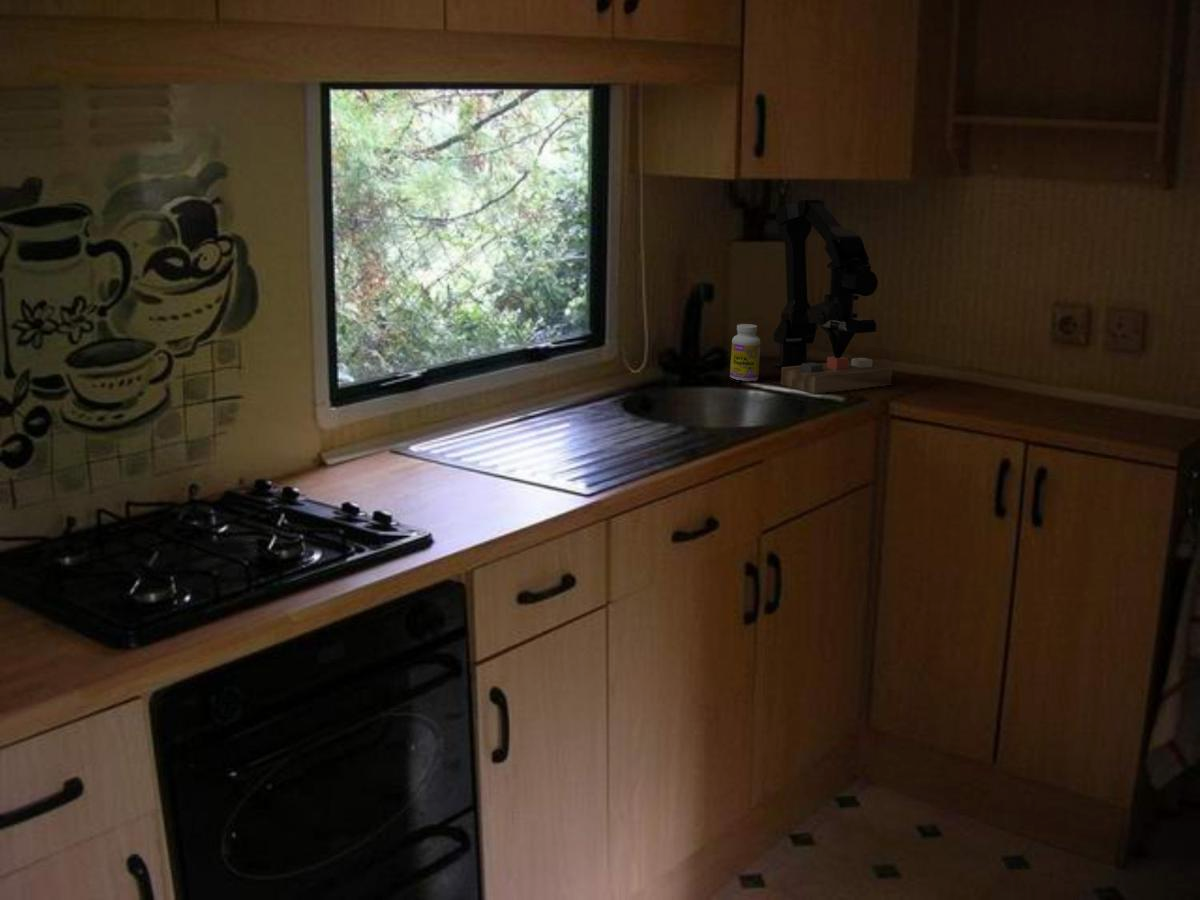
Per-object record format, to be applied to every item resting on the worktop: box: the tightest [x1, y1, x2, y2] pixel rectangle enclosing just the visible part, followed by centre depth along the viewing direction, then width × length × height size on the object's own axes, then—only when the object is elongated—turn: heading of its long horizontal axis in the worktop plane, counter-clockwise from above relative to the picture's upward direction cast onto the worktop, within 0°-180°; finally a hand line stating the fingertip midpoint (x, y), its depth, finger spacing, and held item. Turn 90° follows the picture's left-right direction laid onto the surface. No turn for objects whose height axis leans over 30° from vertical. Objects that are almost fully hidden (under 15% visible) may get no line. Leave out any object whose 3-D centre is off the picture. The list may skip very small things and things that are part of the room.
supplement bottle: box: [729, 323, 762, 382], centre depth 318 cm, size 7×7×13 cm
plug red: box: [826, 355, 849, 370], centre depth 315 cm, size 3×3×5 cm
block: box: [780, 359, 893, 395], centre depth 316 cm, size 12×23×4 cm, turn 121°
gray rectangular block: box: [801, 362, 823, 373], centre depth 312 cm, size 3×3×5 cm
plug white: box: [851, 357, 873, 368], centre depth 319 cm, size 3×3×5 cm
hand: (837, 357), depth 315 cm, fingers closed, pressing on plug red
